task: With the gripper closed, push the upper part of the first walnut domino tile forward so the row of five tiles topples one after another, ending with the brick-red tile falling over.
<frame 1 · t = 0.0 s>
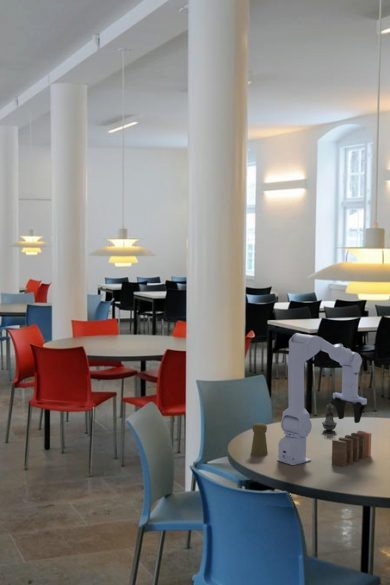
hand: (349, 420, 303), 10 cm above the table, tool pointing down, fingers open, 7 cm apart
tile 3: (351, 460, 288), on the table
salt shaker: (329, 432, 327), on the table
tile 4: (357, 457, 291), on the table
tile 1: (339, 465, 281), on the table
tile 5: (363, 455, 294), on the table
tile 2: (345, 462, 284), on the table
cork: (259, 454, 295), on the table
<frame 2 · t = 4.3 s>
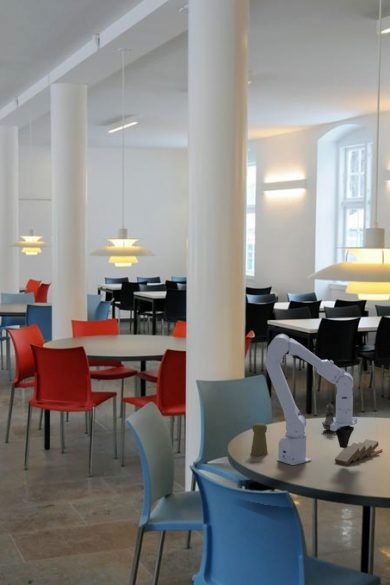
hand: (343, 447, 283), 6 cm above the table, tool pointing down, fingers closed
tile 3: (353, 457, 289), point 1 cm above the table, tilted 71°, touching tile 2
tile 4: (361, 453, 292), point 1 cm above the table, tilted 71°
tile 1: (341, 462, 282), point 1 cm above the table, tilted 68°, touching tile 2
tile 5: (365, 454, 295), on the table, tilted 90°
tile 2: (347, 459, 286), point 1 cm above the table, tilted 68°, touching tile 1, tile 3
everything else where it was.
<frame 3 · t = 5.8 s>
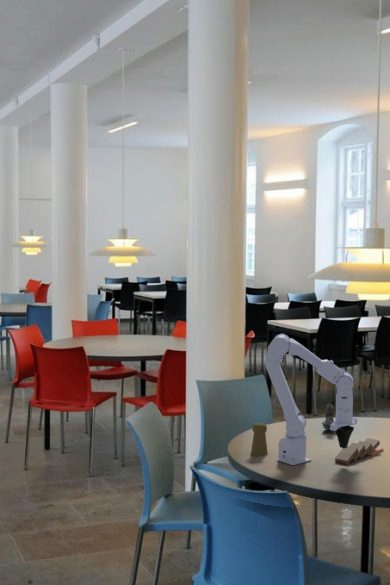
hand: (343, 447, 283), 6 cm above the table, tool pointing down, fingers closed
tile 3: (354, 456, 290), point 1 cm above the table, tilted 70°, touching tile 4
tile 4: (362, 452, 294), point 1 cm above the table, tilted 71°, touching tile 3, tile 5
tile 1: (341, 461, 283), point 1 cm above the table, tilted 71°
tile 5: (366, 453, 295), on the table, tilted 90°, touching tile 4
tile 2: (348, 458, 286), point 1 cm above the table, tilted 70°
everything else where it was.
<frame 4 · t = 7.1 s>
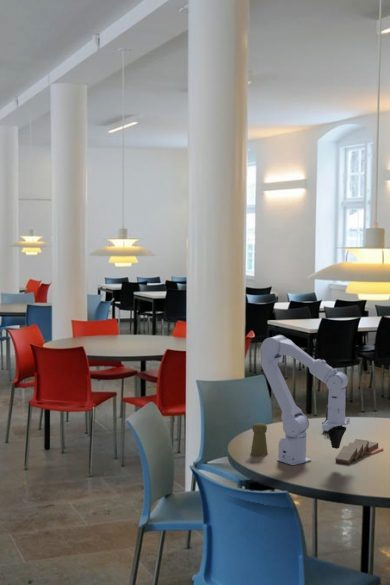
hand: (335, 447, 279), 6 cm above the table, tool pointing down, fingers closed
tile 3: (355, 454, 291), point 1 cm above the table, tilted 69°, touching tile 2
tile 4: (362, 448, 297), point 1 cm above the table, tilted 90°, touching tile 5
tile 2: (349, 458, 287), point 1 cm above the table, tilted 71°, touching tile 3
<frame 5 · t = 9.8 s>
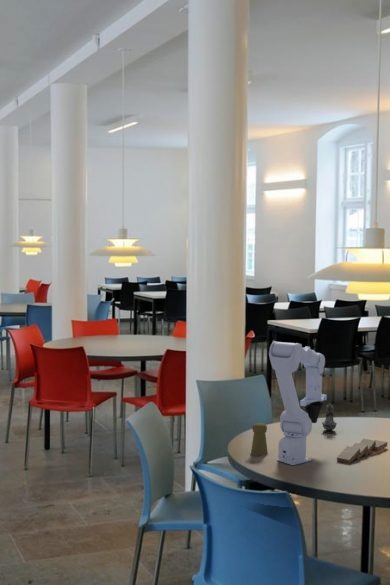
hand: (313, 422, 298), 10 cm above the table, tool pointing down, fingers closed
tile 3: (359, 453, 293), point 1 cm above the table, tilted 71°, touching tile 2, tile 4
tile 4: (371, 448, 298), point 1 cm above the table, tilted 89°, touching tile 3, tile 5
tile 1: (343, 460, 284), point 1 cm above the table, tilted 74°, touching tile 2
tile 2: (351, 457, 289), point 1 cm above the table, tilted 74°, touching tile 1, tile 3
at the end: tile 5 tilted 90°; tile 1 tilted 74°; tile 3 tilted 70° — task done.
